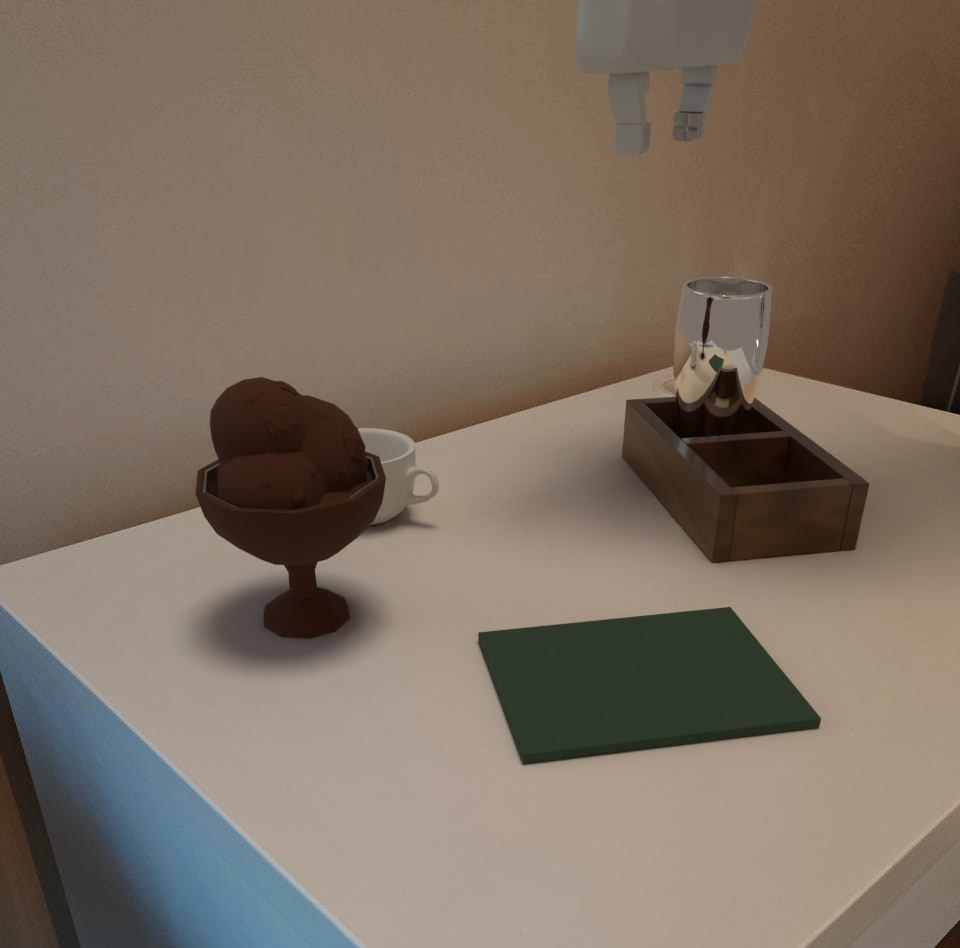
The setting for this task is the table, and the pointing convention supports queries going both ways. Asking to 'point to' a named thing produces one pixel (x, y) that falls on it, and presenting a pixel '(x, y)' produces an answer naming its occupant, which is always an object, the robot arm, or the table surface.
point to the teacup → (396, 470)
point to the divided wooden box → (745, 484)
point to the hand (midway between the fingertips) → (661, 146)
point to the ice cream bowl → (289, 492)
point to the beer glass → (719, 353)
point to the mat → (638, 684)
